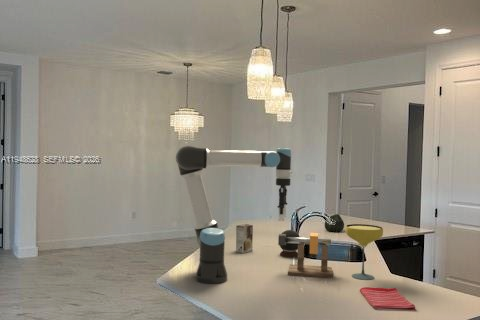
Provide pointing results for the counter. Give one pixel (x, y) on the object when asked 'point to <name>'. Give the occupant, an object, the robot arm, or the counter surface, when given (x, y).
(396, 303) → the dish towel
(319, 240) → the shaft
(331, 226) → the squash
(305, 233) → the counter surface
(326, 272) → the stand
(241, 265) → the counter surface
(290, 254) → the black stacked round piece
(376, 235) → the cocktail glass
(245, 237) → the coffee box
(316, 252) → the collar
